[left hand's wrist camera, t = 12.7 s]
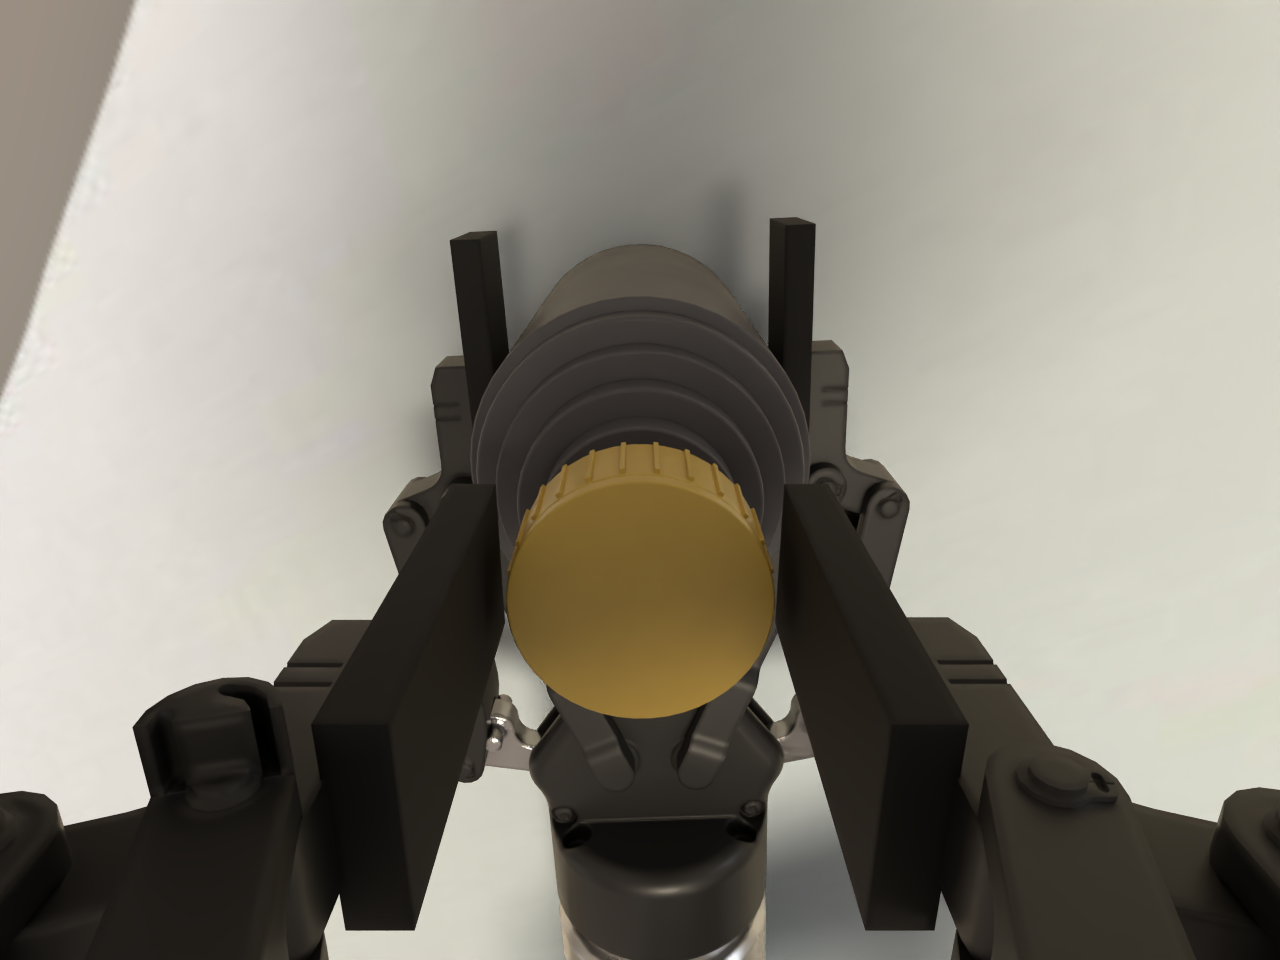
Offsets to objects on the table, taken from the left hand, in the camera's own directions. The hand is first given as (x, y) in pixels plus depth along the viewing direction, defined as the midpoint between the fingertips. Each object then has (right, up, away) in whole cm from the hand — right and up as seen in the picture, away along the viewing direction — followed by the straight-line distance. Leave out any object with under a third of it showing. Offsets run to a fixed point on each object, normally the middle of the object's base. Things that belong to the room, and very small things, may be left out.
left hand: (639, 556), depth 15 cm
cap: (0, -1, -1) cm, 1 cm away
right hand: (0, +8, +8) cm, 11 cm away
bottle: (0, +6, +15) cm, 17 cm away
